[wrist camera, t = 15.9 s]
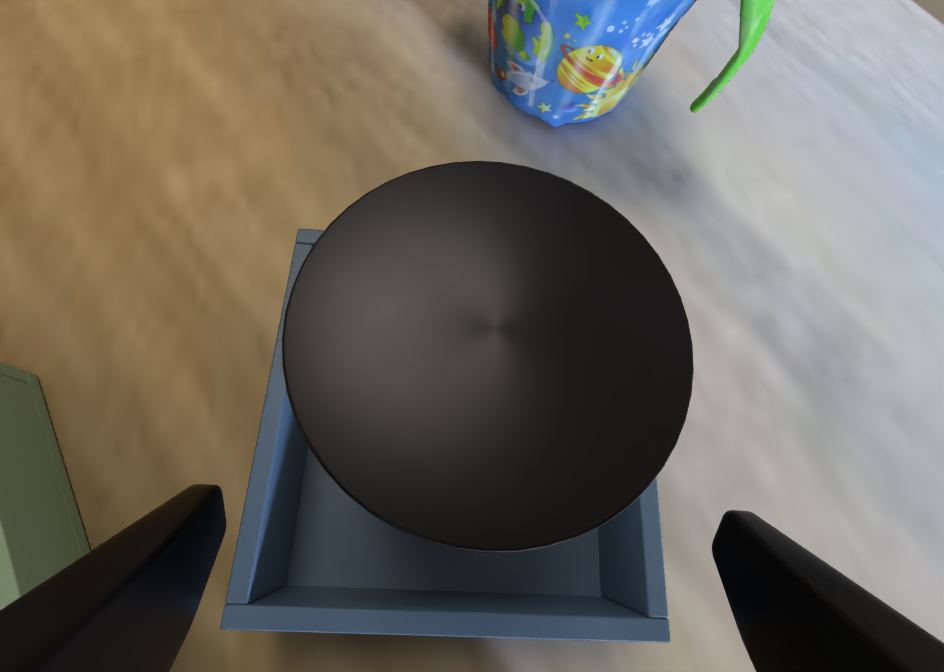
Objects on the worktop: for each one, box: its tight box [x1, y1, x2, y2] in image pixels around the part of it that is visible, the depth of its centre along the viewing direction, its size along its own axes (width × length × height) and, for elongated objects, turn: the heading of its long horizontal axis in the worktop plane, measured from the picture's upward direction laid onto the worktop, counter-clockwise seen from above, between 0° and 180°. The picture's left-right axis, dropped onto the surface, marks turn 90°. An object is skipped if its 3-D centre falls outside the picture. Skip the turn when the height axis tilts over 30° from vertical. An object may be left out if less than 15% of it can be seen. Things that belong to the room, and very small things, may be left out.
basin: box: [220, 229, 670, 643], centre depth 17 cm, size 12×12×5 cm
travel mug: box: [282, 161, 693, 554], centre depth 14 cm, size 7×7×12 cm
